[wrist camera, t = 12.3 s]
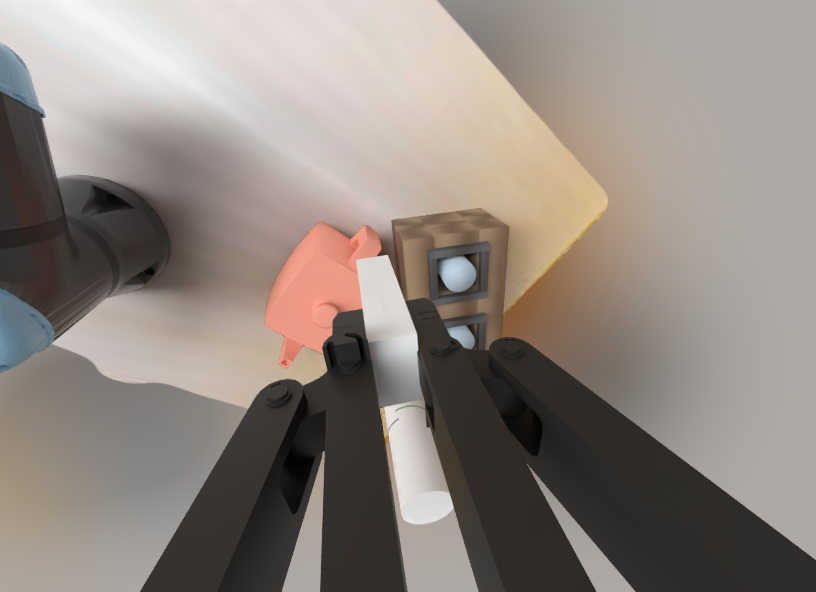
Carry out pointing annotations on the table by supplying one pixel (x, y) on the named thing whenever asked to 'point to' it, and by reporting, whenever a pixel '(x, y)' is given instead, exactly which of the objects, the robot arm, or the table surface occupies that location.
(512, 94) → the table surface
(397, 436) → the cylindrical container
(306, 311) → the teapot
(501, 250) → the wooden peg block
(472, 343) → the peg rear
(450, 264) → the peg front
